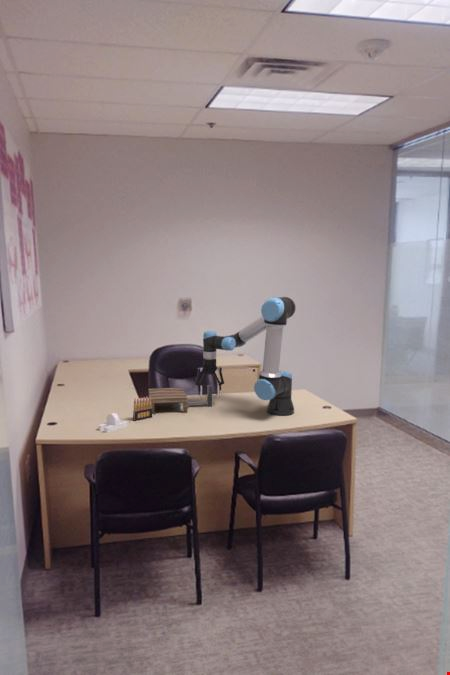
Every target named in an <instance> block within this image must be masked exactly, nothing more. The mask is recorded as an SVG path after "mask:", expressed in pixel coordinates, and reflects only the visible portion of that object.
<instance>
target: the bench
mask: <svg viewBox="0 0 450 675" xmlns="http://www.w3.org/2000/svg"><path fill="white" fill-rule="evenodd" d="M149 396H150V397H151V408H152V414H153V415H155V404H157V403H161V404H162V403H163V404H164V403H178V402H179V403H182V404H183V406H182V408H183V409H182V412H183V414H187V413H188V409H187V402H188V397H187V395H186V392H185V390H184V388H183V387H161V388H158V387H157V388H148V397H149Z"/></svg>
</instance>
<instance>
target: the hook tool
mask: <svg viewBox="0 0 450 675" xmlns="http://www.w3.org/2000/svg"><path fill="white" fill-rule="evenodd" d="M206 387H207V388H206V389H207V390H206V391H207V392H206V393H207V394H206V395H207V397H206V398H207V400H203V401H202V400H199V401H187V410H188V409H189V406H193V405H196V406H197V405H207V407H208V408H211V407H213V386H212V384H207V386H206Z"/></svg>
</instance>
